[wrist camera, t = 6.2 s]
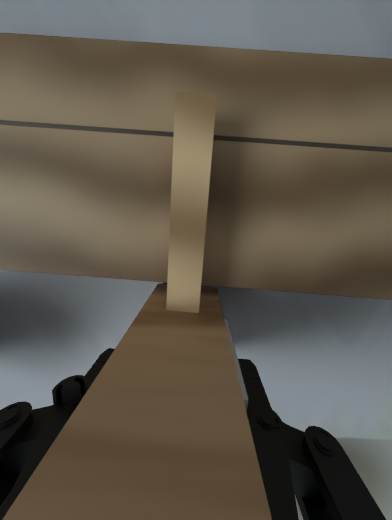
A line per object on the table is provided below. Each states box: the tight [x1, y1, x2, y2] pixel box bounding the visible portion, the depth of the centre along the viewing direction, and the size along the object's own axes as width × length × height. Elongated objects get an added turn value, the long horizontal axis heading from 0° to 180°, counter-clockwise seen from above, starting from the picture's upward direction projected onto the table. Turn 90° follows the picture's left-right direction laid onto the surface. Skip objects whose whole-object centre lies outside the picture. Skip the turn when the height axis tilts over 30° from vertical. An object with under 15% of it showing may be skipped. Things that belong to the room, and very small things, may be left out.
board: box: [0, 33, 392, 300], centre depth 13 cm, size 14×32×2 cm, turn 86°
